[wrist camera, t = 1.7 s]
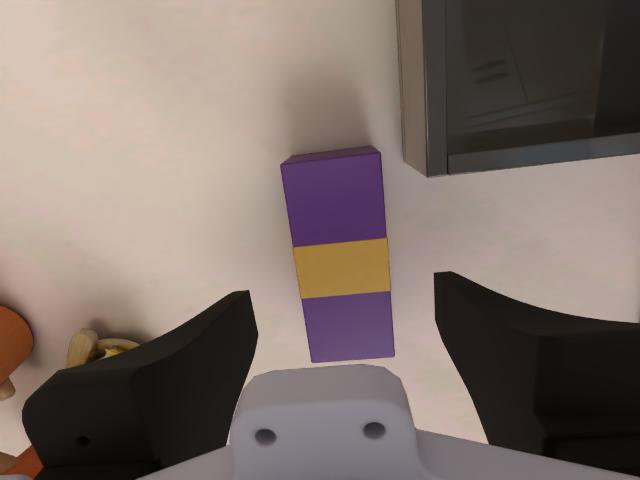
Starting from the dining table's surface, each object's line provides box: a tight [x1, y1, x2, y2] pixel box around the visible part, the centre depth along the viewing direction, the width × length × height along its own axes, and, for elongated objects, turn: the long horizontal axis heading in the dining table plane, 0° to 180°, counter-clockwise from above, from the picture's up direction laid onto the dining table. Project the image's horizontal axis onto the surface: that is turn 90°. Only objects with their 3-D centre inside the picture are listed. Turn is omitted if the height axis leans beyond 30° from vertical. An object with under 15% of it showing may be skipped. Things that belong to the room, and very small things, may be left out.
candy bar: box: [280, 146, 395, 363], centre depth 19 cm, size 4×10×4 cm, turn 7°
